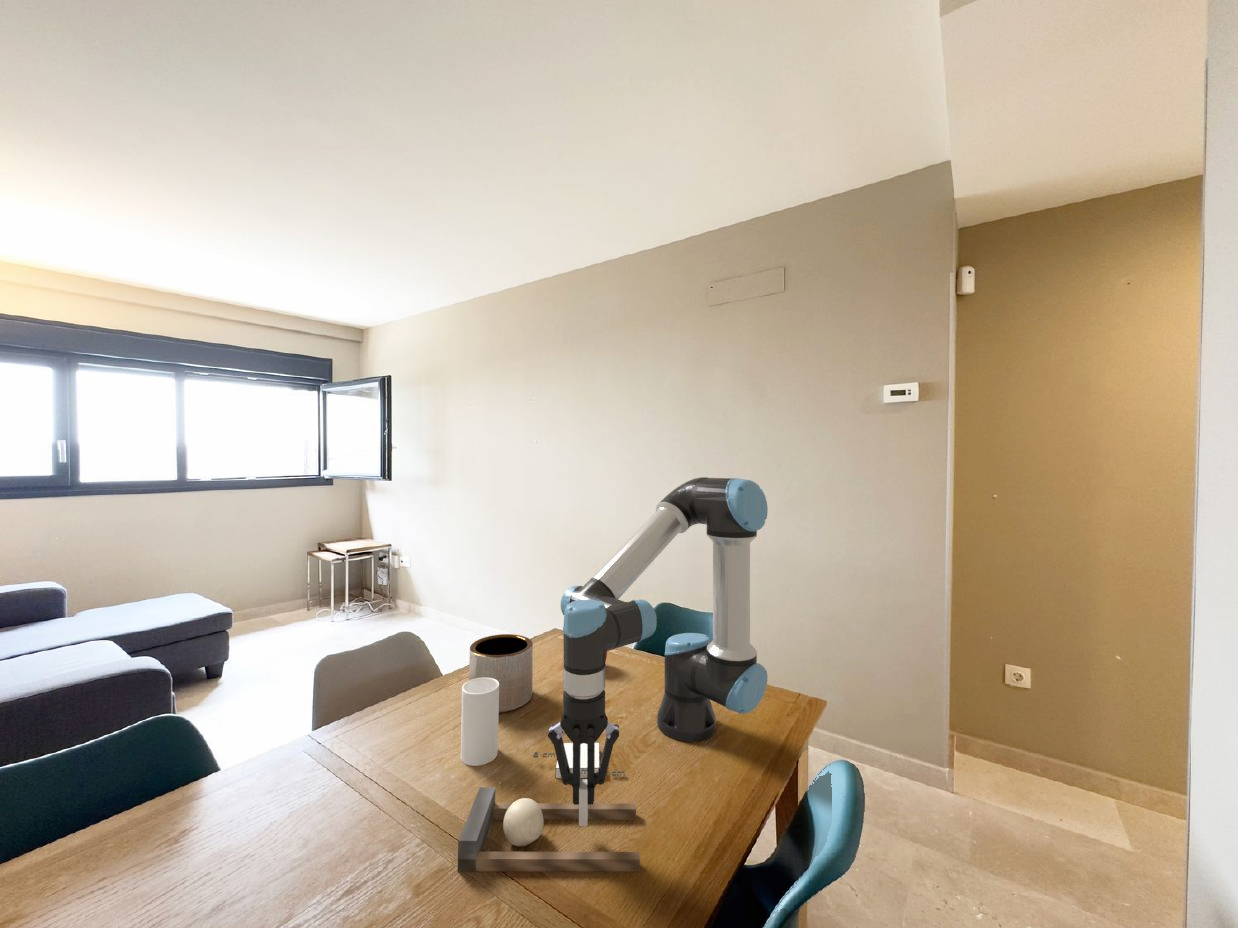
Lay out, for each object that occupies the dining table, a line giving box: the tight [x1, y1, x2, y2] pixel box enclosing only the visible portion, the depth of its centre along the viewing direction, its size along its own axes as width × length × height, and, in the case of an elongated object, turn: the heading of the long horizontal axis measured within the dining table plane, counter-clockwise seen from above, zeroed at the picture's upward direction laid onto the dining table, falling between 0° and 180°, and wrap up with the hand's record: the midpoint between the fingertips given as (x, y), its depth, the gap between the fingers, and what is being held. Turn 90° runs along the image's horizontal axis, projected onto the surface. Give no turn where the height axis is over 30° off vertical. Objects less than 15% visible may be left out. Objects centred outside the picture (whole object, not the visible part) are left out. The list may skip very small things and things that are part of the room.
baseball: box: [502, 797, 545, 847], centre depth 85 cm, size 7×7×7 cm
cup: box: [460, 678, 500, 767], centre depth 110 cm, size 8×8×16 cm
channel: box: [457, 786, 641, 872], centre depth 85 cm, size 30×13×5 cm, turn 91°
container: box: [532, 742, 626, 779], centre depth 106 cm, size 20×12×3 cm, turn 93°
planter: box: [468, 633, 534, 714], centre depth 136 cm, size 18×18×16 cm
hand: (583, 820), depth 85 cm, fingers closed
